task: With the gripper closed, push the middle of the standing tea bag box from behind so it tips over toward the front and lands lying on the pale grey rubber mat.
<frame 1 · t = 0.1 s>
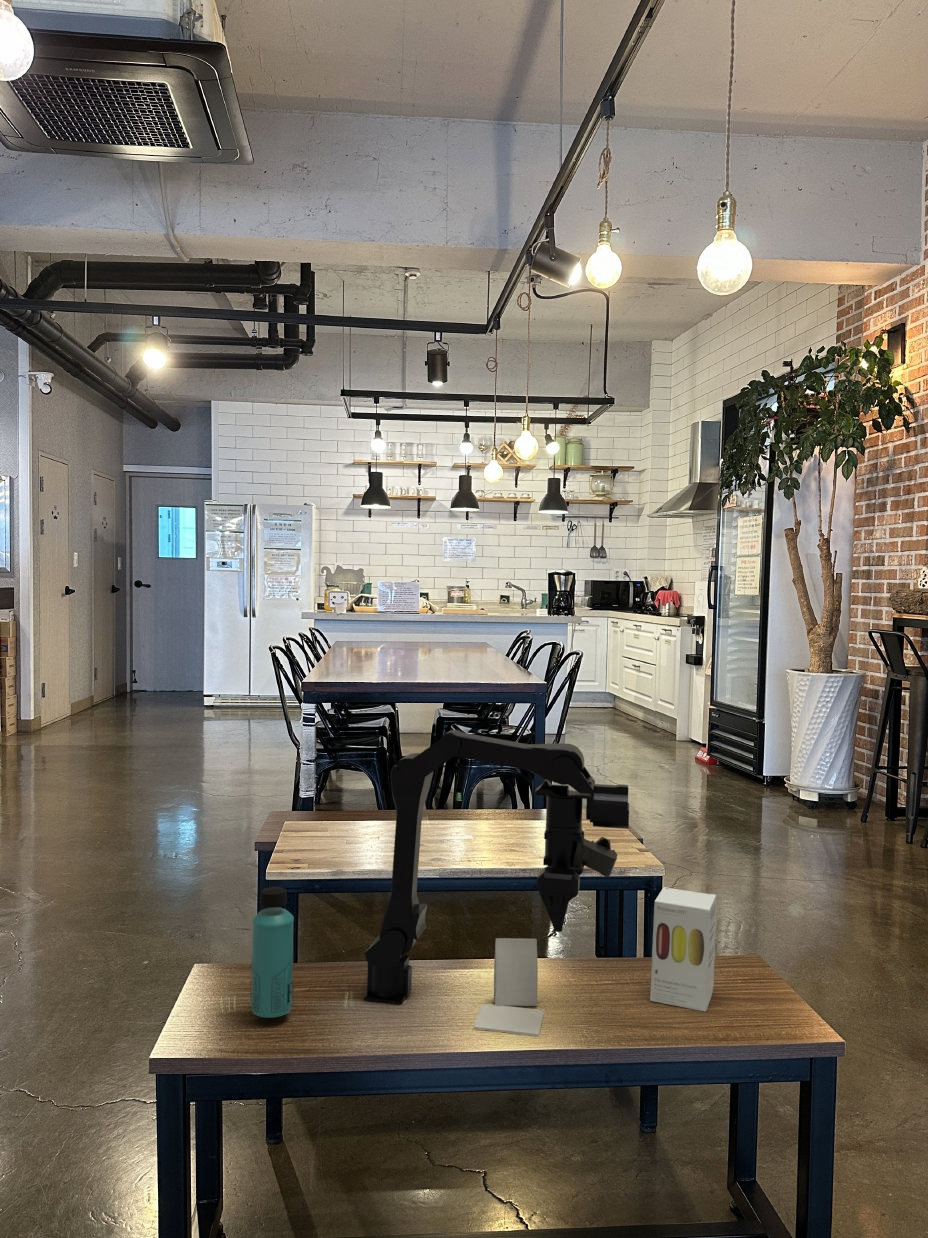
hand: (560, 922, 146), 15 cm above the bench, tool pointing down, fingers open, 9 cm apart
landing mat: (509, 1021, 142), on the bench
beverage bottle: (270, 1020, 141), on the bench
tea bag: (515, 1003, 149), on the bench, touching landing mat
supplement box: (682, 998, 154), on the bench
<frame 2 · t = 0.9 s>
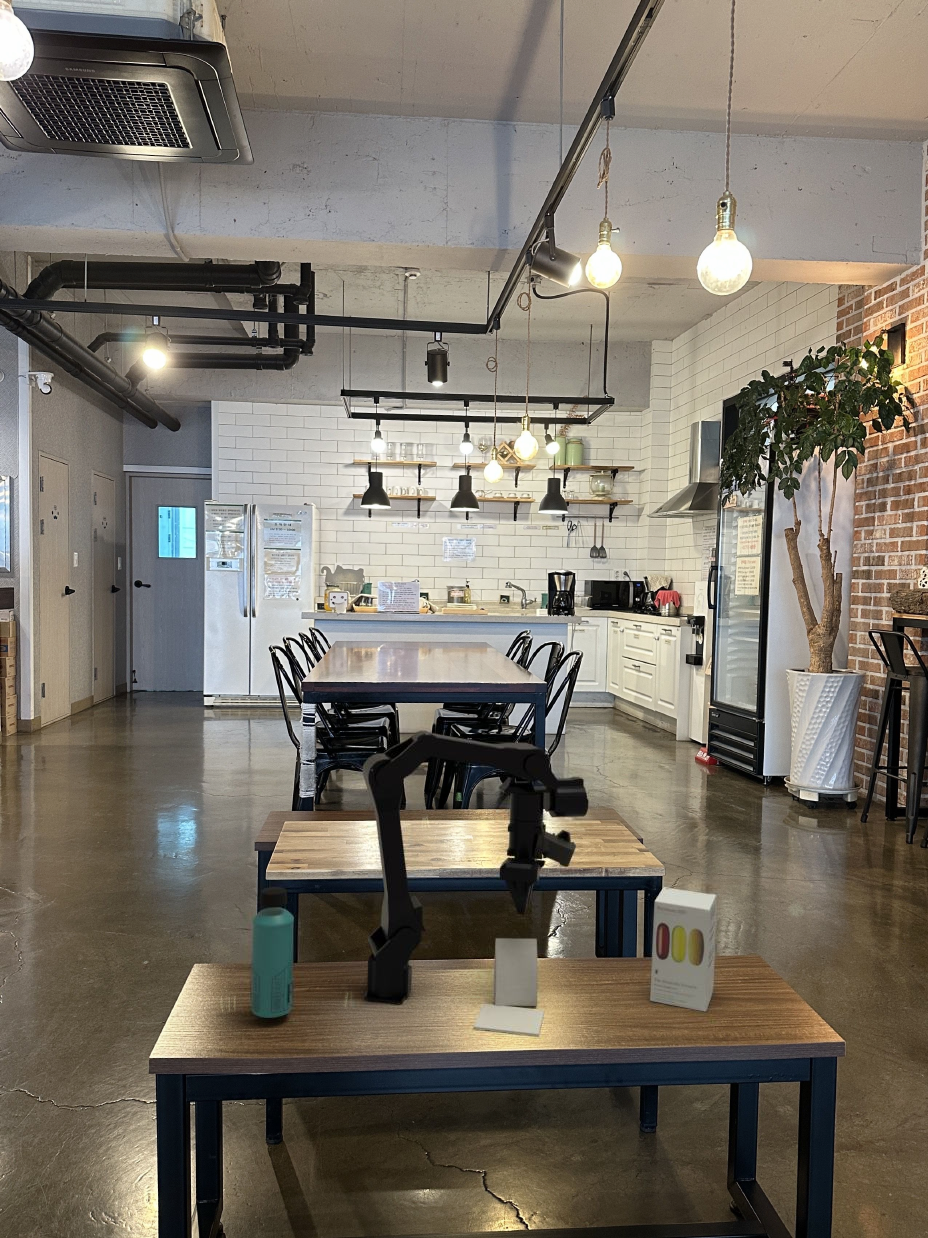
hand: (523, 909, 157), 13 cm above the bench, tool pointing down, fingers open, 5 cm apart
nothing on the bench moved.
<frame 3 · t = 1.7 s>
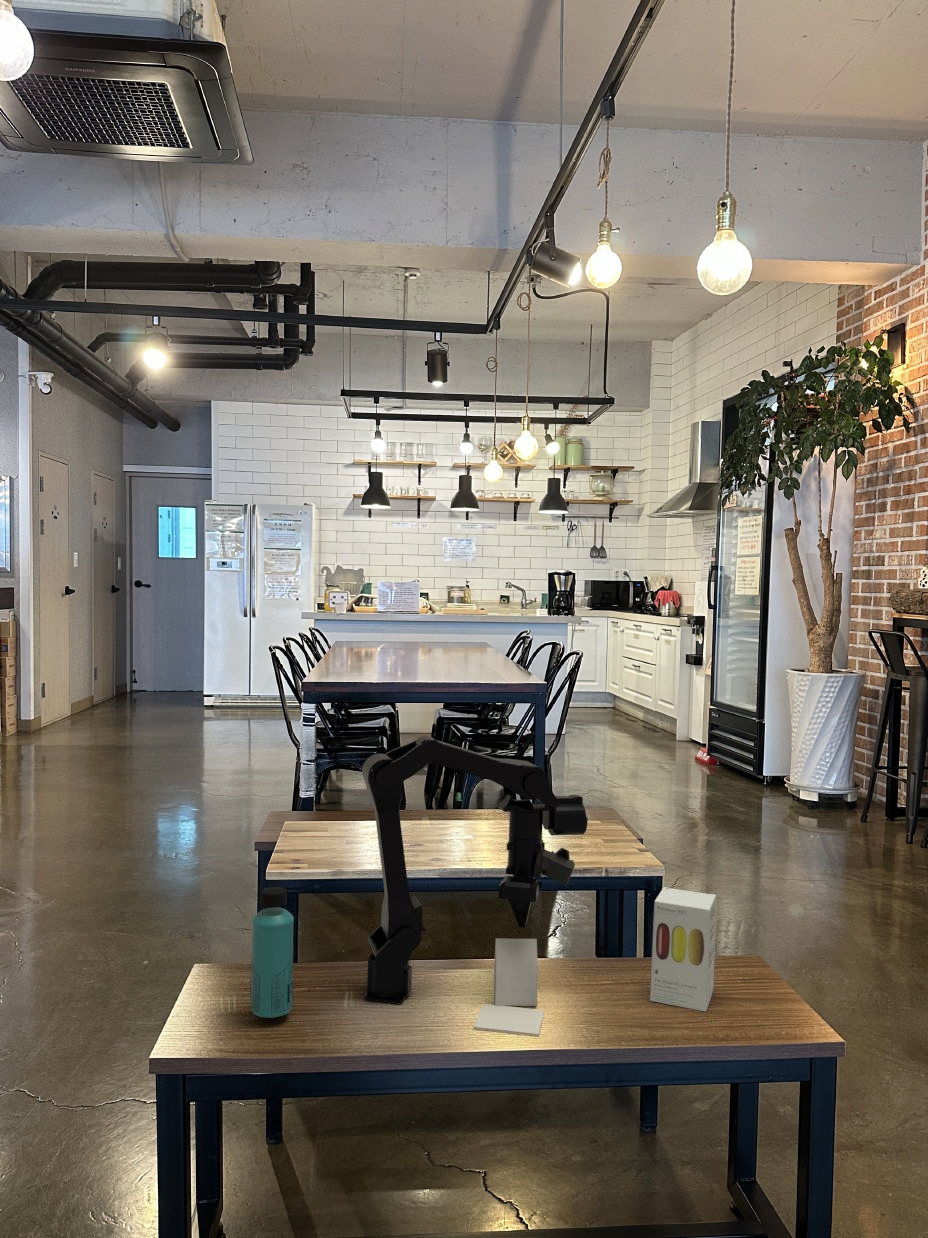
hand: (522, 927, 157), 10 cm above the bench, tool pointing down, fingers closed
nothing on the bench moved.
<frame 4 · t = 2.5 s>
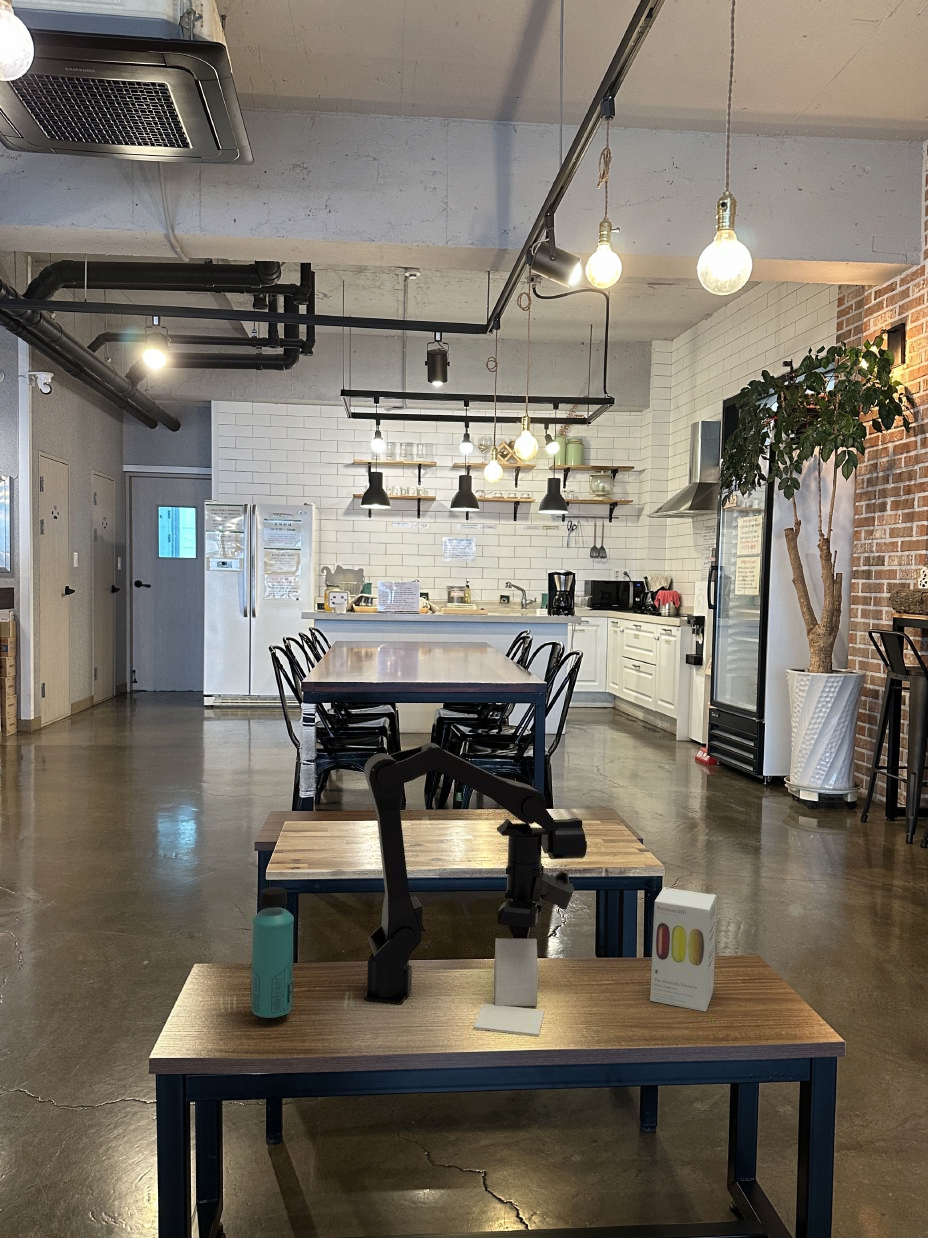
hand: (521, 951, 156), 6 cm above the bench, tool pointing down, fingers closed
nothing on the bench moved.
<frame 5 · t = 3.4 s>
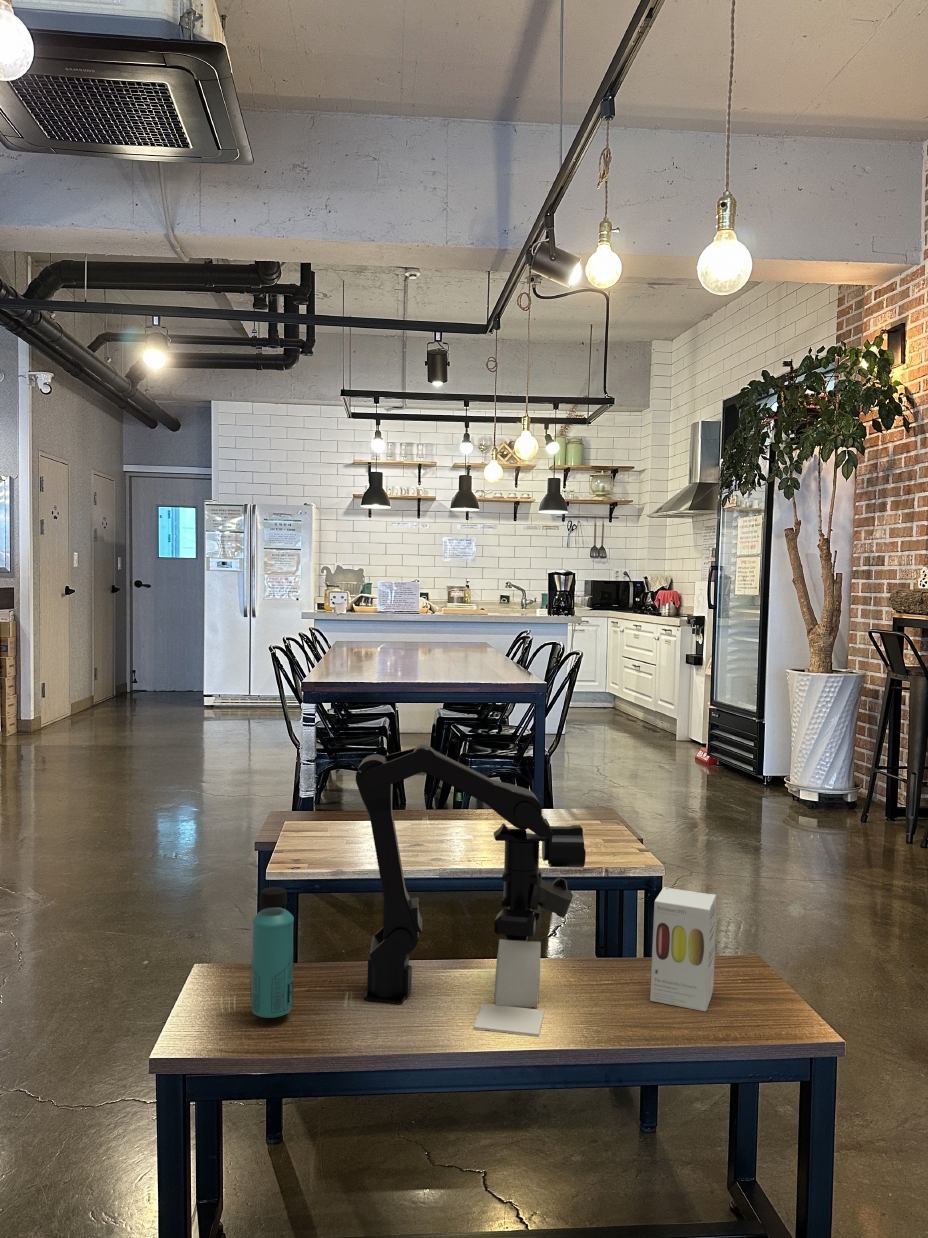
hand: (519, 960, 152), 6 cm above the bench, tool pointing down, fingers closed
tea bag: (515, 1003, 149), on the bench, touching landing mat
everything else where it was.
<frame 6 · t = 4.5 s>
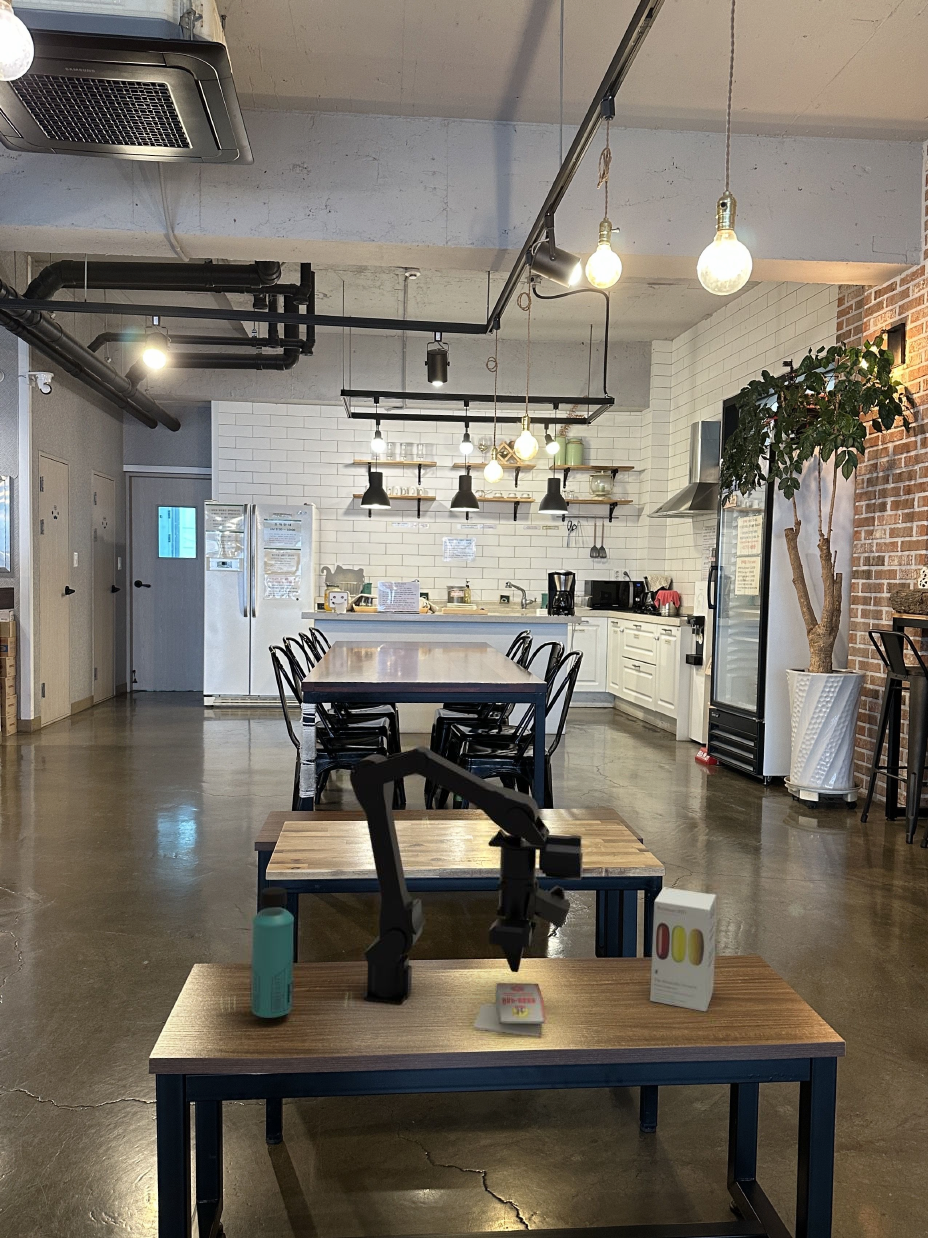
hand: (514, 971, 147), 6 cm above the bench, tool pointing down, fingers closed
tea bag: (516, 994, 147), point 2 cm above the bench, touching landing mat
everything else where it was.
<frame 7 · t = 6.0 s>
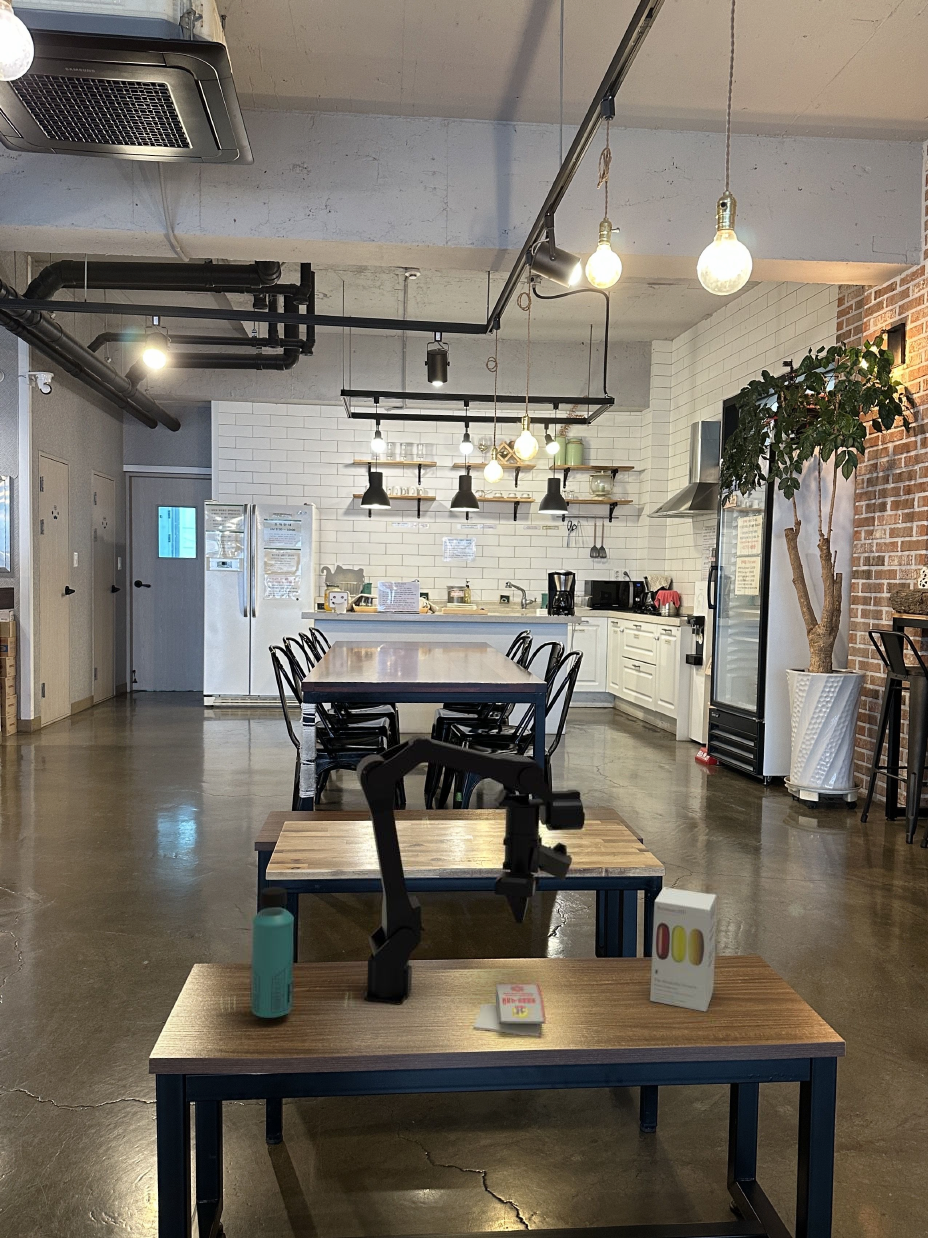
hand: (519, 922, 155), 11 cm above the bench, tool pointing down, fingers closed
nothing on the bench moved.
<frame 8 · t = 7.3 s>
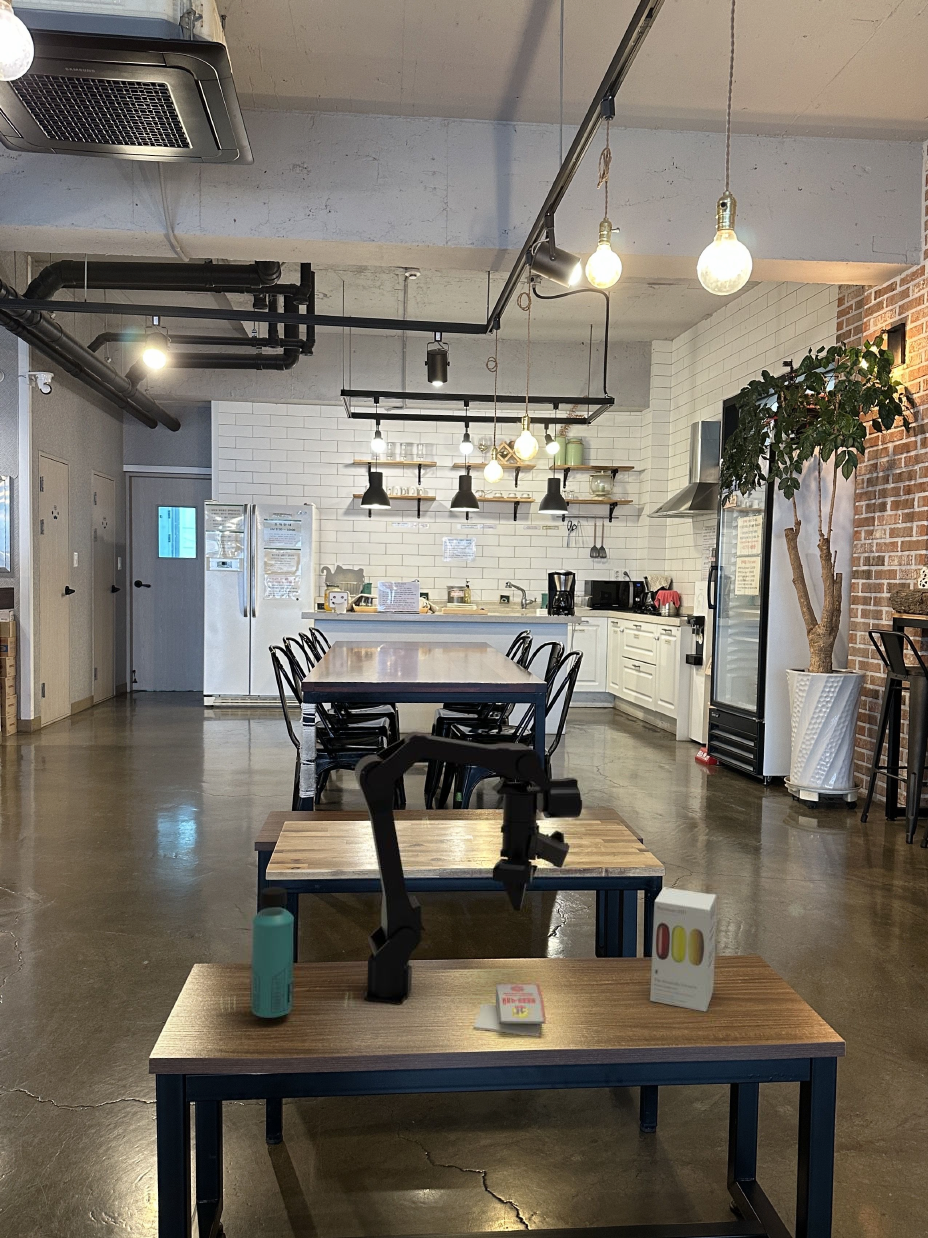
hand: (517, 910, 156), 13 cm above the bench, tool pointing down, fingers closed
nothing on the bench moved.
at the end: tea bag tilted 90°; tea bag inside the target area (3.8 cm from its centre), point 2.2 cm above the bench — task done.
